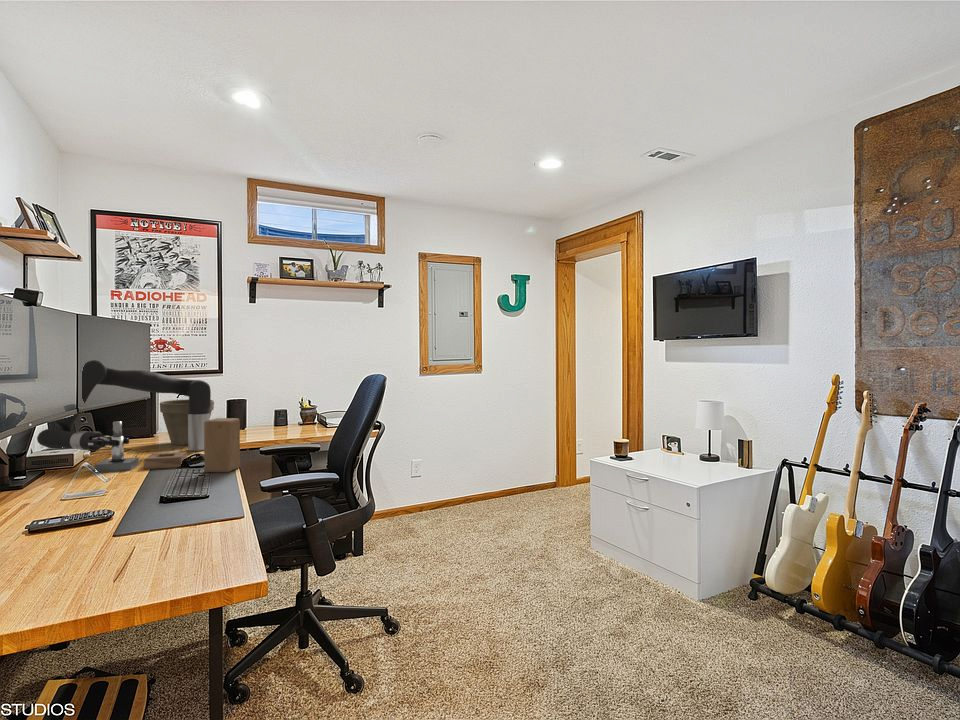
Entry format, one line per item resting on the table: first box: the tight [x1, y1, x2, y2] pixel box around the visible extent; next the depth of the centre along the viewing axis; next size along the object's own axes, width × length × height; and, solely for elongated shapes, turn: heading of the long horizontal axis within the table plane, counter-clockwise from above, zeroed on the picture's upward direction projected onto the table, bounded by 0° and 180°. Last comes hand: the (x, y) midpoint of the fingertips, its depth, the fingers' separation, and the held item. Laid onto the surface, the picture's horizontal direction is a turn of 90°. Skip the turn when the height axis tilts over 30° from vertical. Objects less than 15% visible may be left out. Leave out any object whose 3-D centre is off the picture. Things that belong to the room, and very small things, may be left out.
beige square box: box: [143, 451, 188, 470], centre depth 223 cm, size 13×13×4 cm
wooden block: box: [203, 417, 241, 473], centre depth 213 cm, size 10×10×20 cm
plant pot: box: [159, 398, 215, 446], centre depth 280 cm, size 25×25×22 cm
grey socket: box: [94, 457, 140, 473], centre depth 216 cm, size 12×12×3 cm
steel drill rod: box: [111, 420, 125, 462], centre depth 216 cm, size 4×4×18 cm
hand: (123, 441), depth 216 cm, fingers closed on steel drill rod, 4 cm apart
